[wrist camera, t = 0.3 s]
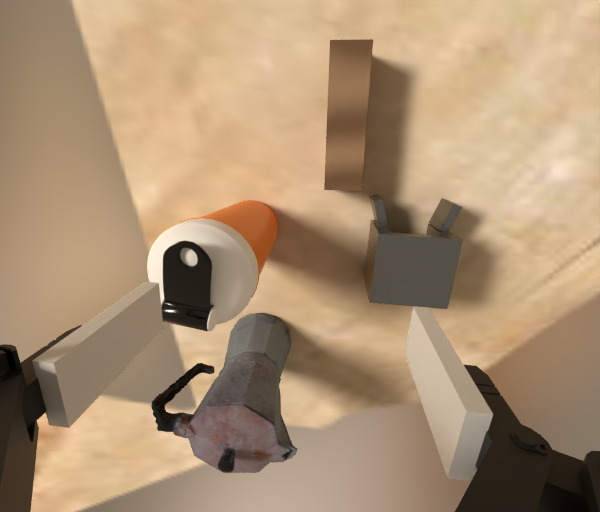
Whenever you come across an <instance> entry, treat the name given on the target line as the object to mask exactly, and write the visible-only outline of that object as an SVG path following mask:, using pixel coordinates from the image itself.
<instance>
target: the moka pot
mask: <svg viewBox="0 0 600 512" xmlns="http://www.w3.org/2000/svg"><path fill="white" fill-rule="evenodd" d="M290 346H291V345H290V335H289V331H288V329H287V327H286V326H285V325H284V324H283V323H282V322H281V321H280V320H279V319H278V318H276V317H274V316H271V315H267V314H263V313H256V314H250V315H247V316H245V317H243V318H241V319H240V320H239V321H238V322H237V324H236V325H235V326H234V328H233V330H232V331H231V334H230V339H229V344H228V349H227V353H226V357H225V363H224V367H223V369H222V370H221V371H220V373H219V376H218V377H217V378H216V379H215V381H214V382H213V384H212V386H211V387H210V389H209V390H208V392H207V394H206V395H205V397H204V399H203V400H202V402H201V403H200V405H199V406H198V408H197V410H196V411H195V413H194V414H193V415H192V414H187V413H176V414H171V413H168V412H166V410H165V404H166V403H168V402H169V401H171V400H172V399H173V397H175V394H177V393H178V392H180V391H181V389H182V388H184V387H185V386H186V385H187V383H188V382H189V381H190V380H191V379H192V378H194V377H195V376H196V375H197V374H199V373H208V374H212V373H214V367H212V366H208V365H206V364H205V365H204V364H202V363H200V364H199V363H198V364H196V365H195V366H194V367H193V368H192V369H190V370H189V371H187V372H186V373H185V375H183V376H182V377H180V378H179V379H178V380H177V381H176V383H173V384H172V385H170V387H169V388H168V389H167V390H165V391H164V392H163V393H162V394H159V396H157V397H156V398H155V400H154V401H152V409H153V411H154V412H153V415H154V417H156V423H157V424H158V427H157V429H158V431H165V432H174V434H175V435H177V436H181V437H184V438H188V439H189V441H190V444H191V447H192V450H193V453H194V455H195V456H196V457H197V458H199V459H201V460H203V461H204V462H206V463H208V464H209V465H211V466H213V467H215V468H216V469H218V470H220V471H221V472H223V473H240V472H241V473H246V472H247V473H249V472H251V473H256V472H259V471H260V470H262V469H263V468H264V467H265V466H266V465H267V464H269V463H270V462H284V461H286V460H287V459H289V458H292V457H293V456H294V455H295V454H296V452H297V448H295V447H294V446H293V445H292V443H291V440H290V437H289V435H288V432H287V429H286V426H285V424H284V421H283V418H282V416H281V403H280V389H279V383H280V380H281V378H280V376H281V374H282V370H283V367H284V365H285V362H286V359H287V356H288V353H289V350H290Z"/></svg>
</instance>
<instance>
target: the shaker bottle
mask: <svg viewBox="0 0 600 512" xmlns="http://www.w3.org/2000/svg"><path fill="white" fill-rule="evenodd" d="M277 235H278V222H277V219H276V216H275V215H274V213H273V212H272V210H271V209H270V208H269V207H267V206H266V205H265V204H263V203H261V202H258V201H252V200H248V201H243V202H240V203H237V204H234V205H232V206H229V207H227V208H224V209H222V210H219V211H216V212H214V213H211V214H209V215H206V216H203V217H201V218H192V219H188V220H185V221H182V222H180V223H179V224H177V225H175V226H173V227H171V228H169V229H168V230H166V231H164V232H163V233H162V234H161V235H160V236H159V237H158V238H157V239H156V241H155V242H154V244H153V245H152V247H151V250H150V253H149V255H148V263H147V269H148V277H149V281H150V282H155V283H159V289H160V299H161V309H162V319H163V322H167V323H171V324H176V325H181V326H185V327H190V328H195V329H200V330H204V331H211V330H212V329H213V328H214V327H215V325H216V324H219V323H223V322H227V321H229V320H231V319H233V318H235V317H236V316H237V315H238V314H240V313H241V312H242V311H243V310H244V308H245V307H246V306H247V305H248V303H249V301H250V299H251V298H252V297H253V295H254V293H255V291H256V289H257V285H258V281H259V275H260V273H261V271H262V269H263V267H264V264H265V262H266V260H267V258H268V256H269V253H270V251H271V249H272V247H273V245H274V242H275V240H276V238H277Z"/></svg>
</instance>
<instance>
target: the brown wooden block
mask: <svg viewBox="0 0 600 512" xmlns="http://www.w3.org/2000/svg"><path fill="white" fill-rule="evenodd" d="M372 47H373V40H330V60H329V86H328V112H327V137H326V163H325V188H324V190H353V191H362V178H363V165H364V152H365V139H366V126H367V113H368V100H369V86H370V73H371V60H372Z"/></svg>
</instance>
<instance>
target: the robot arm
mask: <svg viewBox="0 0 600 512" xmlns="http://www.w3.org/2000/svg"><path fill="white" fill-rule="evenodd" d="M162 329H163V319H162V309H161V299H160V289H159V283H155V282H144V283H142V284H141V285H139V286H138V287H137V288H136V289H134V290H133V291H131V292H130V293H128V294H127V295H125V296H124V297H123V298H121V299H120V300H118V301H117V302H115V303H114V304H112V305H111V306H110V307H108V308H107V309H105V310H104V311H102V312H101V313H100V314H98V315H97V316H95V317H94V318H92V319H91V320H90V321H88V322H87V323H85V324H84V325H80V326H78V327H76V328H73V329H71V330H69V331H67V332H65V333H64V334H62V335H61V336H59V337H58V338H56V340H53V341H52V342H50V343H49V344H48V345H47V346H45V347H43V348H42V349H40V350H39V351H37V352H36V353H34V354H33V355H31V356H30V357H29V358H27V359H26V360H24V361H23V362H21V363H20V360H19V357H18V354H17V350H16V347H15V346H13V345H0V512H30V510H31V500H32V490H33V480H34V470H35V460H36V450H37V440H38V430H39V428H38V424H37V421H36V420H37V419H39V418H40V417H41V416H42V415H43V414H44V413H45V412H46V414H47V418H48V422H49V425H53V426H61V427H68V428H69V427H70V426H71V425H72V424H73V423H74V422H75V421H76V420H77V419H78V418H79V417H80V416H81V415H82V414H83V413H84V412H85V410H86V409H87V408H88V407H89V406H90V405H91V404H92V403H93V402H94V401H95V400H96V399H97V398H98V397H99V396H100V395H101V394H102V393H103V391H104V390H105V389H106V388H107V387H108V386H109V385H110V384H111V383H112V382H113V381H114V380H115V379H116V378H117V377H118V376H119V375H120V373H122V372H123V370H124V369H125V368H126V367H127V366H128V365H129V364H130V363H131V362H132V361H133V360H134V359H135V358H136V357H137V356H138V354H140V353H141V352H142V350H143V349H144V348H145V347H146V346H147V345H148V344H149V343H150V342H151V341H152V340H153V339H154V338H155V337H156V336H157V335H158V334H159V332H161V330H162ZM404 354H405V356H406V359H407V362H408V365H409V368H410V371H411V374H412V377H413V380H414V382H415V385H416V388H417V391H418V394H419V397H420V400H421V403H422V406H423V408H424V411H425V414H426V417H427V420H428V423H429V426H430V429H431V432H432V434H433V437H434V440H435V443H436V446H437V449H438V452H439V455H440V458H441V461H442V463H443V466H444V469H445V472H446V475H447V478H453V479H460V480H467V481H471V483H470V485H469V487H468V489H467V490H466V492H465V494H464V496H463V498H462V500H461V502H460V504H459V506H458V507H457V509H456V511H455V512H600V451H591V452H589V453H588V454H586V456H585V459H584V461H582V460H579V459H576V458H573V457H571V456H568V455H565V454H562V453H559V452H557V451H554V450H552V448H551V447H550V445H549V443H548V442H547V441H546V440H545V439H544V438H543V437H542V436H541V435H540V434H538V433H537V432H535V431H533V430H532V429H530V428H528V427H526V426H523V425H521V424H520V422H519V420H518V419H517V417H516V416H515V415H514V413H513V412H512V410H511V409H510V407H509V406H508V404H507V403H506V401H505V400H504V398H503V397H502V396H500V393H499V391H498V390H497V388H496V387H495V385H494V384H493V382H492V381H491V379H490V378H489V376H488V375H487V374H485V373H484V372H483V371H482V370H481V369H479V368H478V367H477V366H471V365H463V363H462V362H461V360H460V358H459V357H458V355H457V353H456V352H455V350H454V348H453V347H452V345H451V343H450V342H449V340H448V338H447V337H446V335H445V333H444V332H443V330H442V328H441V327H440V325H439V323H438V322H437V320H436V318H435V317H434V315H433V313H432V312H431V310H430V308H426V307H415V306H413V311H412V316H411V321H410V327H409V332H408V337H407V343H406V348H405V353H404ZM476 468H477V472H476V474H475V475H474V473H475V469H476ZM473 476H474V477H473Z"/></svg>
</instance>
